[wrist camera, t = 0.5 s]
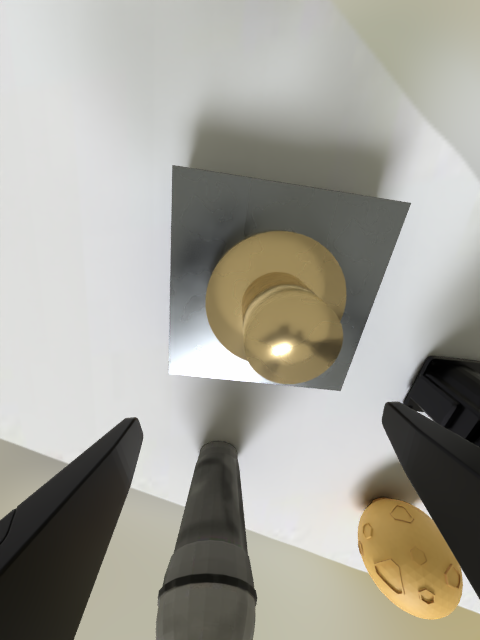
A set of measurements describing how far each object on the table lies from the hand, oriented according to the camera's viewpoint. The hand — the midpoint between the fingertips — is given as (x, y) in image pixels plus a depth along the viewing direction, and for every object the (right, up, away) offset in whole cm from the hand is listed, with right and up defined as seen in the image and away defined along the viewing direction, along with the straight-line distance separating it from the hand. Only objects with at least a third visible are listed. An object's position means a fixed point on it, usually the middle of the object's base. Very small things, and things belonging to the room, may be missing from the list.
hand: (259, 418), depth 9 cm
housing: (+1, +7, +11) cm, 13 cm away
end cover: (+1, +6, +10) cm, 12 cm away
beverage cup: (-3, -12, +19) cm, 23 cm away
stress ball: (+19, -21, +24) cm, 37 cm away
